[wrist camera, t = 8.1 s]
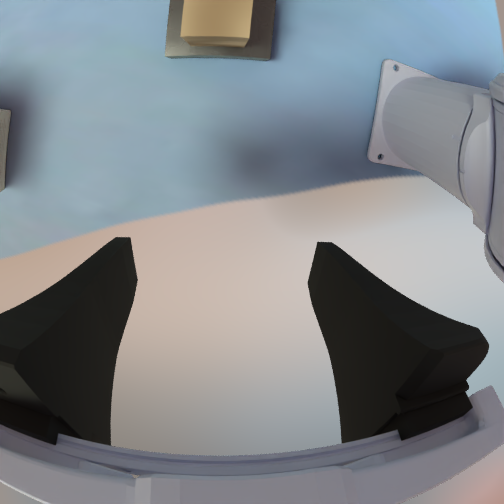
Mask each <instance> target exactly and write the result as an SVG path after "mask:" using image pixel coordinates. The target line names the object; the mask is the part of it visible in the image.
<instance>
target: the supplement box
mask: <svg viewBox="0 0 504 504" xmlns="http://www.w3.org/2000/svg"><path fill="white" fill-rule="evenodd" d="M10 116H11V111H10V110H3V109H0V192H1V191H2V190H4V188H5V166H6V152H7V142H8V132H9V125H10Z"/></svg>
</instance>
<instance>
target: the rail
mask: <svg viewBox="0 0 504 504" xmlns="http://www.w3.org/2000/svg"><path fill="white" fill-rule="evenodd" d="M252 6H253V0H184V6H183V15H182V25H181V36H180V37H181V38H183V39H184V40H185V41H186V42H187V43H188V44H189V45H190V46H226V47H245V45H246V43H247V41H248V39H249V36H250V25H251V15H252Z"/></svg>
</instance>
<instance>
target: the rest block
mask: <svg viewBox="0 0 504 504" xmlns="http://www.w3.org/2000/svg"><path fill="white" fill-rule="evenodd" d="M275 5H276V0H253V6H252V15H251V25H250V36H249V39H248V41H247V43H246V45H245V47H226V46H190V45H189V44H188V43H187V42H186V41H185V40H184V39H183V38H181V37H180V36H181V25H182V15H183V6H184V0H170V6H169V15H168V25H167V36H166V49H165V57H168V58H171V59H173V58H230V59H247V60H259V61H267V60H269V59H270V55H271V45H272V35H273V25H274V15H275Z"/></svg>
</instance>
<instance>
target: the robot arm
mask: <svg viewBox="0 0 504 504" xmlns="http://www.w3.org/2000/svg"><path fill="white" fill-rule="evenodd" d="M394 65H395V66H396V71H395V70H394V69H393V66H394ZM379 154H381V158H380V159H378V155H379ZM367 157H368V159H369V160H370V161H372V162H375V163H381V164H386V165H391V166H397V167H402V168H407V169H411V170H416V171H419V172H420V173H422V174H424V175H425V176H427V177H428V178H429V179H431V180H433V181H434V182H435V183H437V184H438V185H440V186H441V187H442V188H444V189H445V190H447V191H448V192H449V193H451V194H452V195H454V196H455V197H456V198H458V199H459V200H460V201H461V202H463V203H464V204H465V205H467V206H468V207H469V208H470V209H471V210H472V212H473V223H474V224H475V225H476V226H477V227H478V228H479V229H480V230H481V231H482V232H484V233H485V234H486V236H485V243H484V250H485V256H486V259H487V262H488V263H489V266H490V267H491V269H492V270H493V272H494V273H495V274H496V275H497V276H498V278H500V280H501V281H502V282H504V73H499V74H498V75H497V76H496V77H495V79H494V80H492V81H490V83H489V90H488V89H484V88H480V87H475V86H471V85H466V84H462V83H457V82H451V81H446V80H441V79H438V78H436V77H434V76H432V75H429V74H427V73H425V72H422V71H420V70H417V69H415V68H412V67H410V66H407V65H404V64H402V63H399V62H396V61H393V60H390V59H386V60H384V61H383V63H382V68H381V76H380V83H379V90H378V97H377V103H376V110H375V115H374V121H373V127H372V132H371V137H370V143H369V148H368V153H367ZM137 281H138V279H137V275H136V268H135V263H134V257H133V251H132V245H131V238H130V237H116V238H114V239H113V240H111V241H110V242H108V243H107V244H106V245H105V246H103V247H102V248H101V249H100V250H98V251H97V252H96V253H95V254H93V255H92V256H91V257H90V258H88V259H87V260H86V261H85V262H83V263H82V264H81V265H80V266H78V267H77V268H76V269H74V270H73V271H72V272H70V273H69V274H68V275H67V276H66V277H64V278H63V279H61V280H60V281H58V282H57V283H55V284H54V285H52V286H51V287H49V288H48V289H46V290H45V291H43V292H42V293H40V294H38V295H36V296H34V297H33V298H31V299H29V300H27V301H26V302H24V303H22V304H20V305H18V306H16V307H14V308H12V309H10V310H8V311H5V312H3V313H1V314H0V482H2V483H3V484H5V485H7V486H9V487H11V488H13V489H14V490H16V491H18V492H20V493H22V494H24V495H27V496H29V497H31V498H33V499H35V500H37V501H39V502H42V503H44V504H400V503H403V502H405V501H407V500H409V499H412V498H414V497H416V496H418V495H420V494H422V493H424V492H426V491H428V490H430V489H432V488H434V487H436V486H438V485H440V484H442V483H444V482H445V481H447V480H449V479H451V478H453V477H454V476H456V475H458V474H459V473H461V472H463V471H464V470H466V469H467V468H469V467H471V466H472V465H474V464H475V463H477V462H478V461H480V460H481V459H483V458H484V457H486V456H487V455H488V454H490V453H491V452H493V451H494V450H495V449H497V448H498V447H499V446H501V445H502V444H503V443H504V408H503V406H502V404H501V402H500V400H499V398H498V396H497V394H496V392H495V390H494V388H493V387H492V386H488V387H486V388H484V389H482V390H480V391H478V392H476V393H474V394H472V395H471V396H470V397H468V396H467V394H466V392H465V391H467V390H468V389H469V385H468V383H467V381H466V380H467V378H468V377H469V376H470V375H471V374H472V373H473V372H474V371H475V370H476V368H477V367H478V366H479V365H480V364H481V362H482V361H483V360H484V358H485V357H486V354H487V353H488V349H489V344H488V342H487V340H486V339H485V337H484V336H483V334H482V333H481V331H480V330H479V329H478V328H476V327H473V326H470V325H467V324H464V323H461V322H458V321H455V320H453V319H450V318H447V317H445V316H443V315H441V314H438V313H436V312H434V311H432V310H430V309H428V308H426V307H424V306H422V305H420V304H418V303H416V302H415V301H413V300H411V299H409V298H408V297H406V296H404V295H403V294H401V293H400V292H398V291H396V290H395V289H393V288H392V287H390V286H389V285H387V284H386V283H385V282H383V281H382V280H380V279H379V278H378V277H376V276H375V275H374V274H372V273H371V272H370V271H368V270H367V269H366V268H365V267H363V266H362V265H361V264H359V263H358V262H357V261H356V260H355V259H353V258H352V257H351V256H350V255H348V254H347V253H346V252H345V251H343V250H342V249H341V248H339V247H338V246H336V245H335V244H333V243H332V242H317V247H316V251H315V255H314V259H313V263H312V267H311V271H310V275H309V279H308V288H309V292H310V298H311V302H312V305H313V309H314V312H315V315H316V317H317V320H318V323H319V326H320V329H321V332H322V334H323V337H324V340H325V343H326V346H327V349H328V352H329V355H330V360H331V365H332V369H333V374H334V380H335V386H336V392H337V397H338V406H339V414H340V424H341V439H342V444H337V445H332V446H327V447H321V448H315V449H308V450H301V451H292V452H283V453H274V454H260V455H239V456H203V455H199V456H198V455H180V454H168V453H157V452H148V451H140V450H133V449H127V448H121V447H115V446H111V438H110V437H111V434H110V433H111V430H110V420H111V419H110V418H111V399H112V389H113V379H114V372H115V364H116V358H117V354H118V350H119V346H120V342H121V339H122V336H123V333H124V329H125V326H126V323H127V320H128V317H129V314H130V311H131V308H132V304H133V301H134V296H135V291H136V286H137ZM127 473H128V474H127ZM131 474H134V475H140V476H139V477H137V478H133V476H132V475H131Z"/></svg>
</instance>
